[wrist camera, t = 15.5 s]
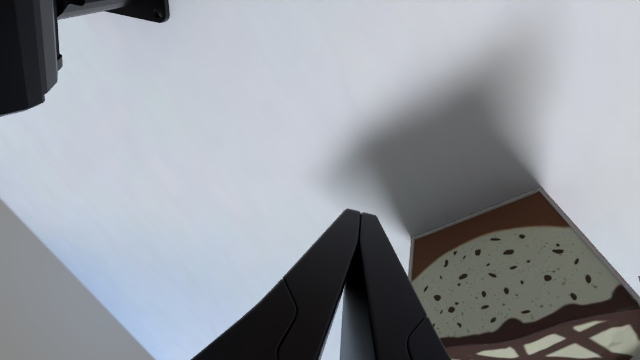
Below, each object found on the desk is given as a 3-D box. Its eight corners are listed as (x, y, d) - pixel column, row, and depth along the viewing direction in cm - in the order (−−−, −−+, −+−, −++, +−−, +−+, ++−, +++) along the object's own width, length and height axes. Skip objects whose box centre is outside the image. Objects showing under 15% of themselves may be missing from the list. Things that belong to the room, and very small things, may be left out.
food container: (432, 291, 29) (446, 424, 21) (394, 244, 27) (393, 372, 19) (598, 240, 23) (709, 396, 15) (566, 176, 21) (674, 317, 13)
